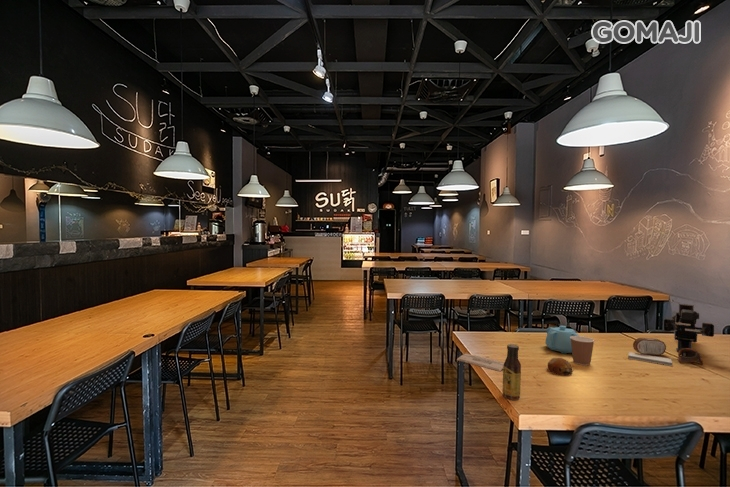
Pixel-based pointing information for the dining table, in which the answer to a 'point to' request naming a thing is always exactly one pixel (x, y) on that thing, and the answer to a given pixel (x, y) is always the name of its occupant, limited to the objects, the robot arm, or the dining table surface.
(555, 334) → the decorative pot
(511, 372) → the sauce bottle
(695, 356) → the pottery mug
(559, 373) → the bread roll
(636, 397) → the dining table surface
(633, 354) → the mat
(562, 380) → the dining table surface
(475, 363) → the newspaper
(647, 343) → the tin
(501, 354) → the dining table surface
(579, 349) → the coffee cup
